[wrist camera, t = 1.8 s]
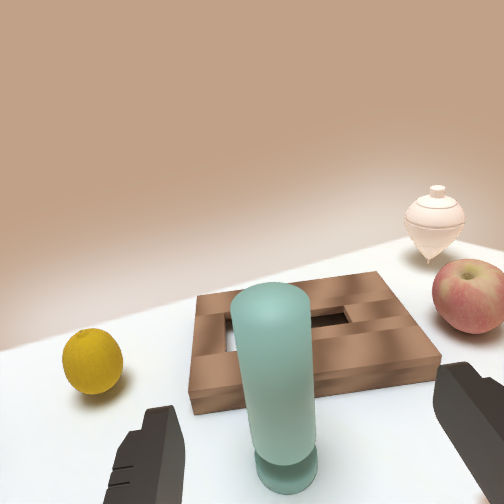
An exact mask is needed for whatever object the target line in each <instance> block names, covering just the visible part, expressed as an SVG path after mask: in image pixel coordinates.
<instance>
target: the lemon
mask: <svg viewBox="0 0 504 504" xmlns="http://www.w3.org/2000/svg"><path fill="white" fill-rule="evenodd" d="M62 363H63V368H64V372H65V375H66V377H67V379H68V381H69V382H70V384H71V385H72V386H73V387H74V388H75V389H76V390H78V391H80V392H82V393H85V394H99V393H103V392H105V391H107V390H109V389H110V388H111V387H113V386H114V385H115V384H116V382H117V381H118V380H119V378H120V376H121V373H122V369H123V357H122V353H121V350H120V347H119V346H118V344H117V342H116V341H115V340H114V339H113V337H112V336H111V335H110V334H109V333H107V332H105V331H103V330H100V329H94V328H92V329H85V330H80V331H79V332H78V333H76V334H75V335H73V336H72V337H71V338H70V339H69V341H68V342H67V344H66V345H65V347H64V350H63V356H62Z"/></svg>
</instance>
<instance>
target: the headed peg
mask: <svg viewBox="0 0 504 504" xmlns="http://www.w3.org/2000/svg"><path fill="white" fill-rule="evenodd" d="M230 312H231V318H232V324H233V330H234V336H235V342H236V348H237V354H238V360H239V366H240V372H241V378H242V384H243V390H244V396H245V402H246V408H247V413H248V419H249V425H250V431H251V437H252V443H253V446H254V448H255V461H256V467H257V472H258V475H259V478H260V479H261V481H262V482H263V484H264V485H265V486H266V487H267V488H269V489H270V490H272V491H274V492H276V493H279V494H285V495H290V494H296V493H299V492H301V491H303V490H304V489H306V488H307V487H308V486H309V485H310V484H311V483H312V481H313V480H314V478H315V475H316V472H317V450H316V445H315V442H316V425H315V402H314V380H313V357H312V334H311V312H310V299H309V297H308V295H307V294H306V293H305V292H304V291H303V290H302V289H300V288H298V287H296V286H294V285H291V284H287V283H280V282H269V283H262V284H257V285H254V286H251V287H249V288H246V289H245V290H243V291H241V292H240V293H239V294H237V295H236V296H235V298H234V299H233V300H232V302H231V305H230Z"/></svg>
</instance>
